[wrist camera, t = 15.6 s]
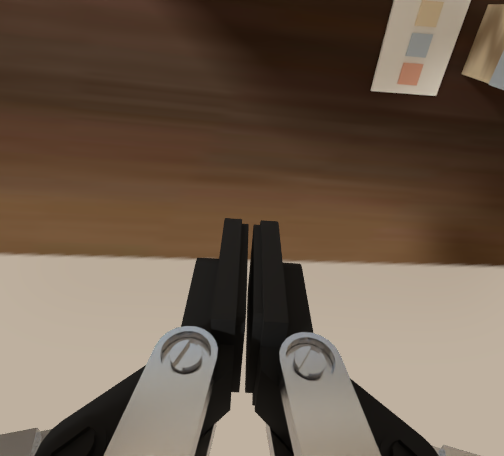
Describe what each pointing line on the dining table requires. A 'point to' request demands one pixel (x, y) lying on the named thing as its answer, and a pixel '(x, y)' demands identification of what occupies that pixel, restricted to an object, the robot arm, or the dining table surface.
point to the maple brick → (487, 45)
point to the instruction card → (418, 45)
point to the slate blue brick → (498, 74)
